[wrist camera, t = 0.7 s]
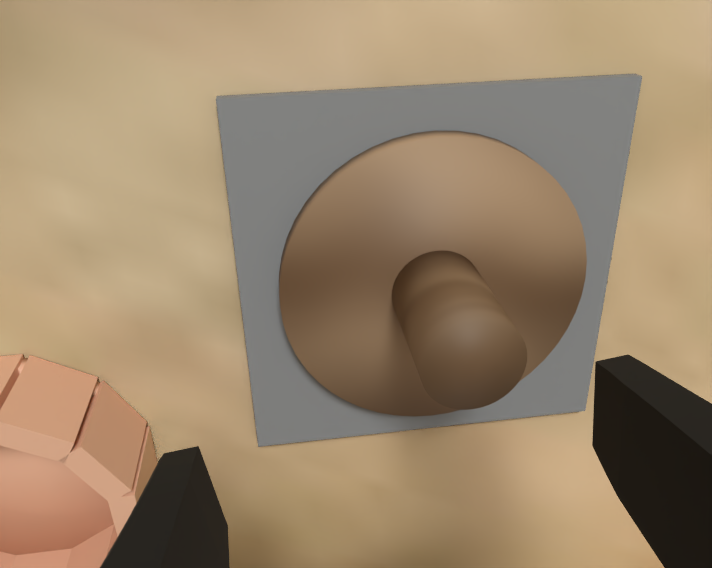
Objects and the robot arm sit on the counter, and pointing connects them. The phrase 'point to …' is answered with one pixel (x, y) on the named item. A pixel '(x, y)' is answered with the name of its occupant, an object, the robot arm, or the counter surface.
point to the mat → (377, 125)
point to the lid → (431, 274)
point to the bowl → (66, 465)
